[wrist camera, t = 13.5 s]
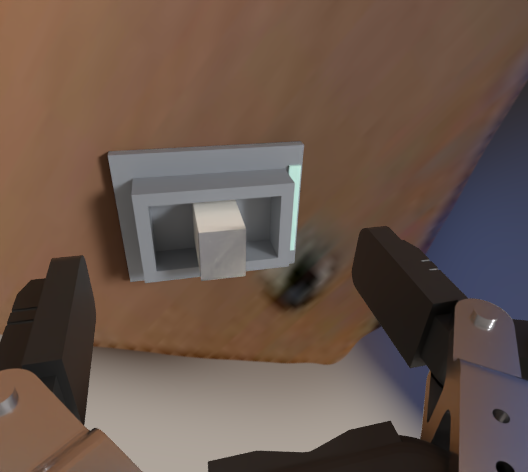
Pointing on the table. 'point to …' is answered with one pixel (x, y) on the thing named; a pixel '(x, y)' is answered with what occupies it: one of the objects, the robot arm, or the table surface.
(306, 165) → the table surface
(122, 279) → the table surface
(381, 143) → the table surface
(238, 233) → the block
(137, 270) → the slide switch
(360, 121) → the table surface
